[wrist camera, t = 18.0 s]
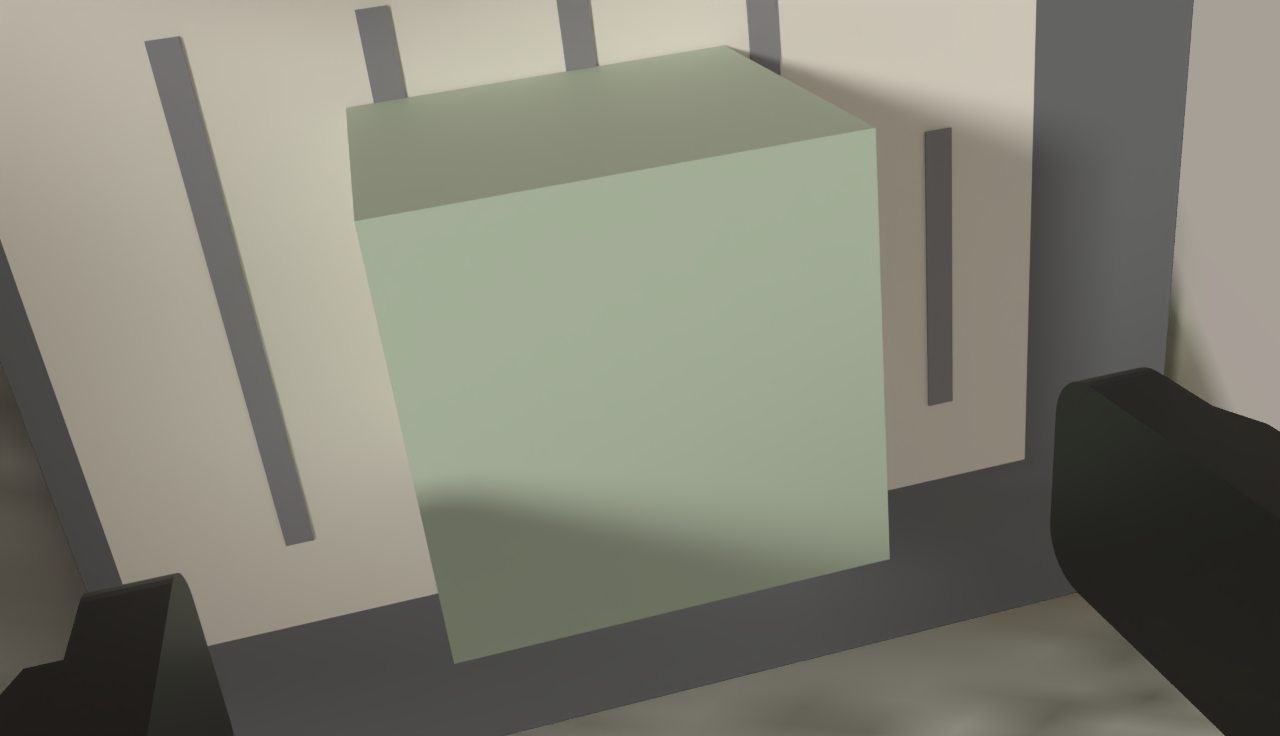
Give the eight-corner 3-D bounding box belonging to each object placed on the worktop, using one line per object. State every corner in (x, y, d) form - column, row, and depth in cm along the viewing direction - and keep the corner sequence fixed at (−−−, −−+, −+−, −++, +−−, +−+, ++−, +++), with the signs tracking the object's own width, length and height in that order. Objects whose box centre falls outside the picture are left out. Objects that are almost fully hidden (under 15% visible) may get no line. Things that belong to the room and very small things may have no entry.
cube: (345, 107, 15) (354, 220, 11) (724, 44, 16) (875, 127, 12) (421, 451, 18) (454, 663, 13) (752, 381, 18) (889, 558, 14)
